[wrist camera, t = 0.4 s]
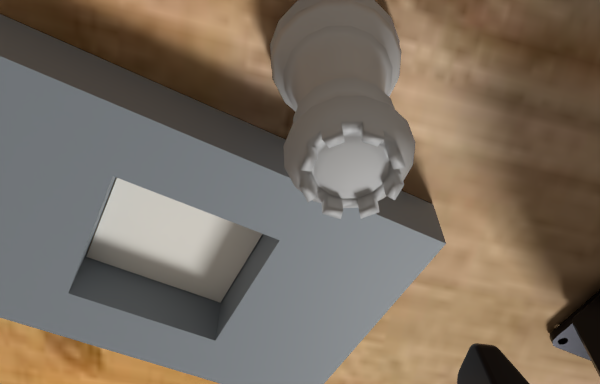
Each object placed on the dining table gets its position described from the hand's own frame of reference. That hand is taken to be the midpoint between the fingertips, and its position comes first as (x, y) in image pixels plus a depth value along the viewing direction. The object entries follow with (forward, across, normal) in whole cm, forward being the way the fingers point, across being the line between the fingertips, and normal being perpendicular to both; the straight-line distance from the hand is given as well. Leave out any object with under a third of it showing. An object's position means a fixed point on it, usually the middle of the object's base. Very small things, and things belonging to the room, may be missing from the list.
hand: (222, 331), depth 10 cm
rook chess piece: (+12, -2, -1) cm, 13 cm away
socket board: (+12, +3, +8) cm, 15 cm away
